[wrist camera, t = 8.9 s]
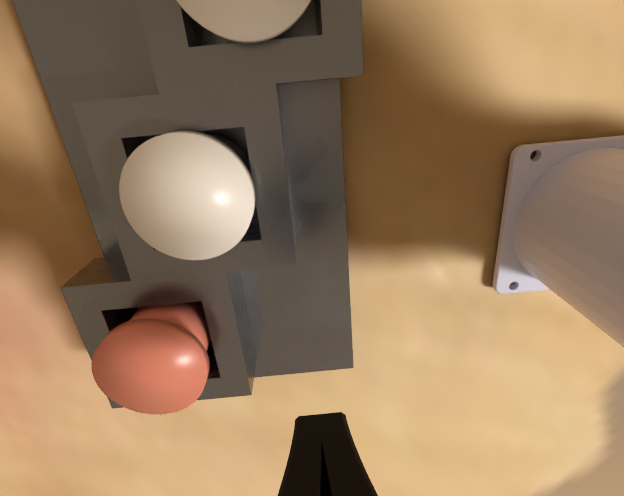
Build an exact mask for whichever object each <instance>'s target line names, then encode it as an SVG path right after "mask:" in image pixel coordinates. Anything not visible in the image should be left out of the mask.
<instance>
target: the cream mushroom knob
mask: <svg viewBox="0 0 624 496" xmlns="http://www.w3.org/2000/svg"><path fill="white" fill-rule="evenodd" d="M176 1H177V2H178V3H179V4H180V6H181V7H182V8H183V9H184V10H185V11H186V12H187V13H188V14H189V15H190V16H191V17H192V18H193V19H194V20H195V21H196V22H198V23H199V24H200V25H201V26H203V27H204V28H206V29H207V30H209V31H211V32H212V33H214V34H216V35H218V36H220V37H222V38H225V39H228V40H231V41H235V42H241V43H256V42H262V41H266V40H269V39H272V38H274V37H276V36H278V35H280V34H282V33H284V32H285V31H286V30H288V29H289V28H290V27H291V26H293V25H294V24H295V23H296V22H297V21H298V19H299V18H300V17H301V16H302V15H303V13H304V12H305V10H306V9H307V7H308V5H309V4H310V2H311V0H176Z"/></svg>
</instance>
